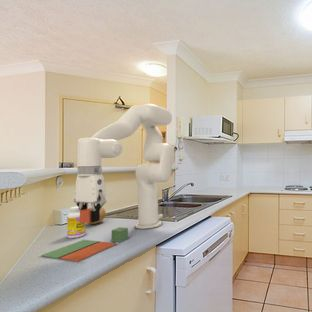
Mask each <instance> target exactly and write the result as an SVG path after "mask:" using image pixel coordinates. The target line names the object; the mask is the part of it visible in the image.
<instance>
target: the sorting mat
mask: <svg viewBox="0 0 312 312" xmlns="http://www.w3.org/2000/svg"><path fill="white" fill-rule="evenodd" d="M116 245H117V242H116V243H114V242H106V241H97V240H88V239H82V240H80V241H76V242H74V243H71V244H68V245H65V246H63V247H61V248H60V247H59V248H58V249H55V250H52V251H49V252H46V253H44V254H42V255H41V257H43V258H44V257H45V258H51V259H58V260H63V261H64V260H65V261H70V262H77V263H79V262H81V261H83V260H85V259H87V258H90V257H92V256H95V255H96V254H98V253H100V252H103V251H105V250H107V249H109V248H112V247H114V246H116Z"/></svg>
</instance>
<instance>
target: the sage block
mask: <svg viewBox="0 0 312 312" xmlns="http://www.w3.org/2000/svg"><path fill="white" fill-rule="evenodd" d="M127 239H129V228H128V227H121V226H120V227H117V228H114V229H111V242H116V243H117V242H118V243H119V242H120V243H121V242H123V241H126V240H127Z"/></svg>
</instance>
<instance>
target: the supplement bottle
mask: <svg viewBox="0 0 312 312" xmlns="http://www.w3.org/2000/svg"><path fill="white" fill-rule="evenodd" d="M85 235H86V223H80V210H79V207H78V206H77V205H75V206H70V207H69V213H68V214H67V216H66V237H67V238H68V239H76V238H77V239H78V238H81V237H83V236H85Z"/></svg>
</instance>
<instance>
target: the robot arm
mask: <svg viewBox="0 0 312 312" xmlns="http://www.w3.org/2000/svg"><path fill="white" fill-rule="evenodd" d="M172 120H173V115H172V113H171V112H170V110H169V109H167V108H165V107H163V106H160V105H157V104H154V103H144V104H134V105H132V106H131V107H129V108H128V109H127V110H126V111H125V112H124V113H123V114H122V115H121V116H120V117H119V119H118V120H116V121H114V122H112V123H111V124H108V125H106V126H105V127H103V128H101V129H100V130H98V131H97V132H95V133H94V134H93V135H91V137H80V138H78V140H77V174H76V179H75V188H74V191H75V192H74V199H73V202H74V204H76V206H78V207H79V210H84V209H89V204H90V206H91V208H92V211H91V222H96V221H99V220H100V210H101V208H103V206H104V205H105V204H106V203H107V200H106V198H107V197H106V196H107V193H106V181H105V177H104V175H103V174H102V172H103V168H102V159H113V158H114V159H115V158H117V157H119V156H121V154H122V153H123V145H122V143H121V142H120V141H119V140H123V139H126V138H128V137H131V136H132V135H134V134H135V133H136V131H137V130H138V129H139V128H140V126H142V127H143V128H144V130H145V141H144V147H143V149H142V159H143V160H144V161H146V162H145V163H141V164H139V165H138V166H137V167H136V168H135V178H136V184H137V218H138V220H137V222H136V223H135V224H134V227H135V228H136V229H139V230H146V229H153V228H157V227H160V226H162V221H161V220H160V219H162V218H163V217H164V215H163V213H159V191H158V190H159V189H158V186H157V184H156V183H166V182H168V181H169V180H170V177H171V174H172V170H173V169H172V168H173V163H174V157H175V152H174V148H173V146H172V145H171V144H170V143H167V142H163V140H164V137H163V133H162V131H161V130H160V129H159V127H161V126H168V125H170V124H171V123H172Z"/></svg>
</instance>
